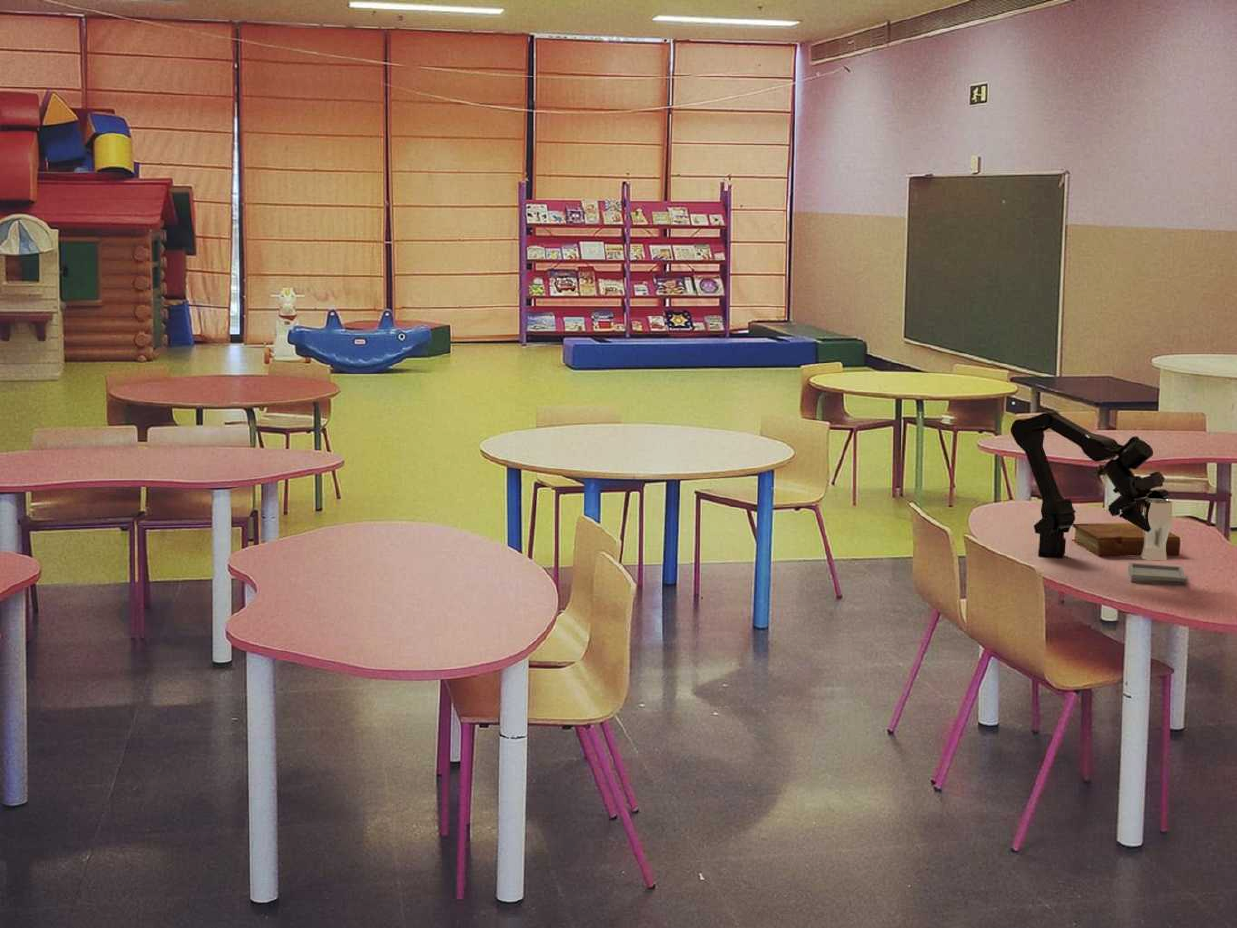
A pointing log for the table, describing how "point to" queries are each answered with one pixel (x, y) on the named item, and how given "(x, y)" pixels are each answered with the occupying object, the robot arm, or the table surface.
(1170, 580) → the grey tray
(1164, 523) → the beer glass
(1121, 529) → the diary
